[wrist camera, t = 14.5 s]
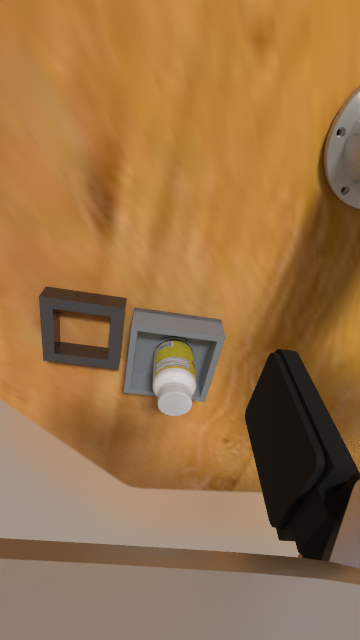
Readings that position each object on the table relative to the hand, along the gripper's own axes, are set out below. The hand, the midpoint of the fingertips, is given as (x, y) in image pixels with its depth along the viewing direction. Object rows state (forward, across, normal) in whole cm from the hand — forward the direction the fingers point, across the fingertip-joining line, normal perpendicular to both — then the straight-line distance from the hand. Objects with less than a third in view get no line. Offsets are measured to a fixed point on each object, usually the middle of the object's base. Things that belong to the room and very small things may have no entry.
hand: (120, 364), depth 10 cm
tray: (+28, -5, +21) cm, 36 cm away
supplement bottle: (+28, -5, +21) cm, 35 cm away
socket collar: (+28, +7, +19) cm, 35 cm away
